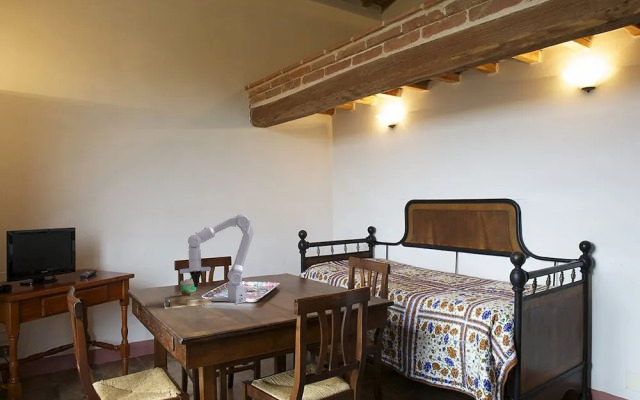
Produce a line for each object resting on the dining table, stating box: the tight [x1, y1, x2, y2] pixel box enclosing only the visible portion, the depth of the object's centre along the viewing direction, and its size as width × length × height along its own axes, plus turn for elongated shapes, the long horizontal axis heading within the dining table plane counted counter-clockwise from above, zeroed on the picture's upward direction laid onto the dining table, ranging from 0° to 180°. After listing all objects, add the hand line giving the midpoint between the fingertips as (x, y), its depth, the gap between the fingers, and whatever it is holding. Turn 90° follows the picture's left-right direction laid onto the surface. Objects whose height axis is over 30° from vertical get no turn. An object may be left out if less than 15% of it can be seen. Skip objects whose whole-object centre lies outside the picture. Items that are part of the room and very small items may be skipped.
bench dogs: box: [164, 296, 170, 307], centre depth 220 cm, size 2×6×4 cm, turn 22°
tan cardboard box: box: [169, 296, 189, 307], centre depth 222 cm, size 8×6×3 cm
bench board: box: [163, 297, 213, 310], centre depth 224 cm, size 22×12×2 cm, turn 112°
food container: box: [179, 276, 197, 297], centre depth 243 cm, size 12×6×10 cm, turn 168°
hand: (195, 286), depth 225 cm, fingers closed
